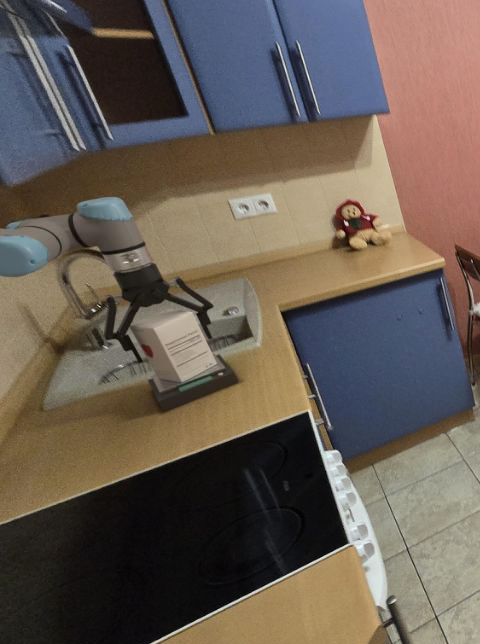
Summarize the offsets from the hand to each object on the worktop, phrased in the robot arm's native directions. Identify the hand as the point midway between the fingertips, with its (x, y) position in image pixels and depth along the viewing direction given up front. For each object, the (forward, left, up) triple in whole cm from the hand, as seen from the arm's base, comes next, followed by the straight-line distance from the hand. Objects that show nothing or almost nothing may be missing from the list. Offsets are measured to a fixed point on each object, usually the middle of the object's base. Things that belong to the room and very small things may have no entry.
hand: (176, 348), depth 129 cm
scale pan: (0, 0, -7) cm, 7 cm away
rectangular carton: (0, 0, -7) cm, 7 cm away
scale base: (+1, 0, -10) cm, 10 cm away
